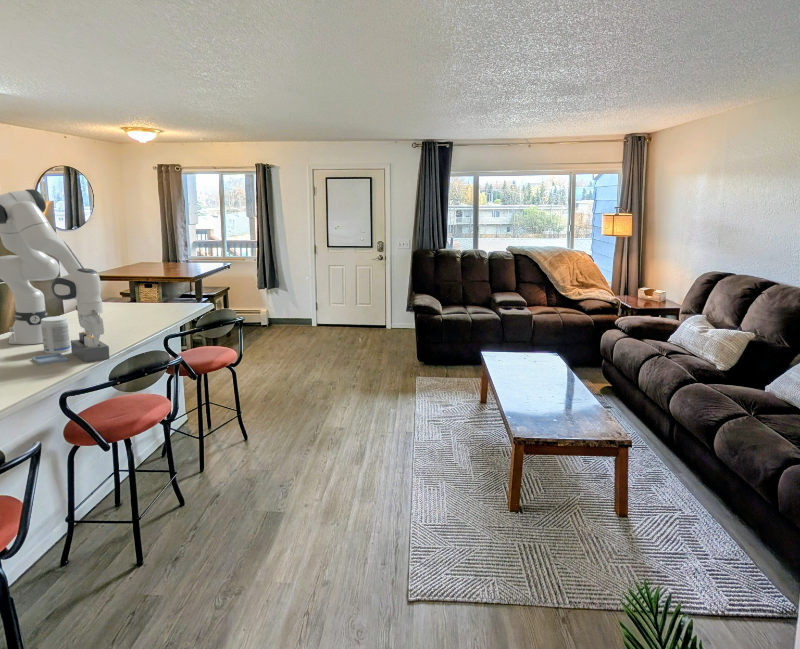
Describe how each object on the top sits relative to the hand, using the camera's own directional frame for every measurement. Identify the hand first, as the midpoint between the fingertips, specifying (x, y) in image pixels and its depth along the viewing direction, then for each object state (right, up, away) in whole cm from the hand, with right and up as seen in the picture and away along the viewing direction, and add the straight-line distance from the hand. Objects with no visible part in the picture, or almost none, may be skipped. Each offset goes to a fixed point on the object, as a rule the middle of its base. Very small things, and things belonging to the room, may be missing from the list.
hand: (92, 341), depth 220 cm
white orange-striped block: (-1, -6, +1) cm, 6 cm away
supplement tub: (-21, -5, +10) cm, 23 cm away
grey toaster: (-3, -7, +4) cm, 9 cm away
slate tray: (-15, -8, -4) cm, 17 cm away
